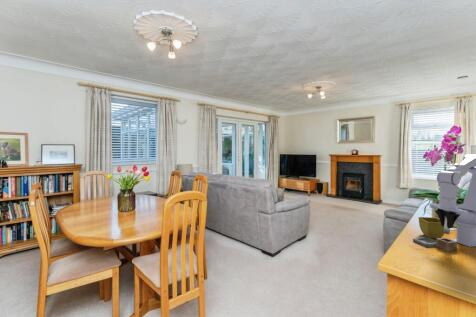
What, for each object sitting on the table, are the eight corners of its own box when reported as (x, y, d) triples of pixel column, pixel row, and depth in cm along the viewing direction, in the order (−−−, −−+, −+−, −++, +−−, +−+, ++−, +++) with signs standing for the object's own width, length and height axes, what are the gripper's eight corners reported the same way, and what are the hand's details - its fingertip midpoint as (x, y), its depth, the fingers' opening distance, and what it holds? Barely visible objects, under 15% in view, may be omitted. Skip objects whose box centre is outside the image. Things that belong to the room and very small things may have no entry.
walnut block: (444, 245, 107) (445, 237, 107) (456, 250, 103) (457, 241, 102) (436, 246, 107) (436, 238, 106) (447, 251, 102) (448, 242, 101)
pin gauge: (446, 232, 105) (446, 215, 105) (450, 234, 103) (451, 216, 103) (442, 232, 105) (443, 215, 105) (447, 234, 103) (447, 217, 103)
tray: (426, 239, 115) (426, 237, 114) (441, 245, 108) (441, 242, 108) (413, 241, 113) (413, 238, 113) (427, 247, 106) (427, 244, 106)
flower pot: (447, 240, 114) (448, 222, 113) (427, 239, 115) (427, 221, 115) (436, 234, 122) (436, 217, 122) (417, 233, 124) (417, 216, 124)
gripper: (424, 194, 110) (424, 222, 110) (458, 201, 96) (457, 233, 96) (436, 194, 111) (436, 221, 112) (472, 200, 97) (471, 232, 97)
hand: (446, 226), depth 104 cm, fingers closed on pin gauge, 2 cm apart
